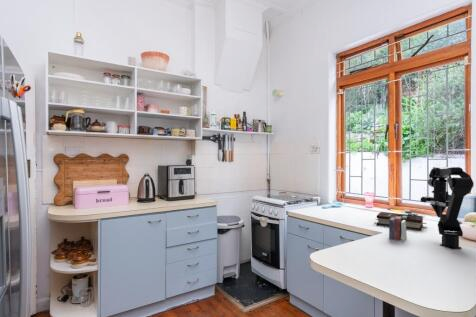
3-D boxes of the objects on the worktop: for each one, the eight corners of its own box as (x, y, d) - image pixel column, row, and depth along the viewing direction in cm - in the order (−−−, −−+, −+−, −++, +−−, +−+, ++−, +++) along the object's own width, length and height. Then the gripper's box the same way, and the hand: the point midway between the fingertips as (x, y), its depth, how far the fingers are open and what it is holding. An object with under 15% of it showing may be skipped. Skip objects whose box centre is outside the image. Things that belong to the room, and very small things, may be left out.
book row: (401, 237, 157) (401, 216, 157) (399, 241, 151) (399, 219, 151) (391, 236, 160) (391, 215, 160) (389, 239, 154) (389, 217, 154)
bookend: (406, 237, 156) (405, 220, 156) (404, 241, 149) (403, 222, 150) (404, 237, 156) (403, 219, 157) (402, 241, 150) (401, 222, 150)
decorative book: (377, 210, 204) (427, 215, 186) (377, 220, 204) (427, 226, 186) (372, 214, 189) (425, 220, 171) (372, 225, 189) (425, 232, 171)
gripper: (468, 190, 147) (467, 220, 148) (434, 186, 165) (433, 212, 165) (453, 192, 144) (452, 222, 144) (420, 187, 161) (419, 213, 162)
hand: (439, 217), depth 154 cm, fingers closed
